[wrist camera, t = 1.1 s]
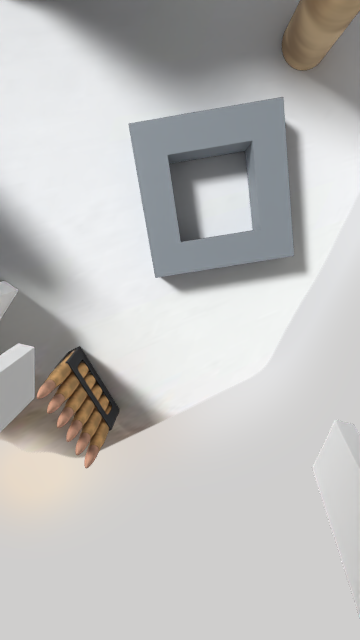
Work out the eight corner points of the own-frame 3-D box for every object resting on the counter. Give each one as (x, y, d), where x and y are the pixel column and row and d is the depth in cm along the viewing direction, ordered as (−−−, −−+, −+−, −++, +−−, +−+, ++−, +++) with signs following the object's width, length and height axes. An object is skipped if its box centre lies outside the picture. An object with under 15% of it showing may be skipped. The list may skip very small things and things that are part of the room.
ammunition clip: (120, 410, 43) (98, 471, 31) (108, 415, 43) (83, 478, 31) (79, 345, 40) (40, 385, 29) (67, 352, 41) (24, 394, 29)
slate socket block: (133, 135, 35) (128, 123, 31) (272, 111, 34) (283, 96, 31) (157, 275, 38) (155, 277, 35) (283, 255, 38) (294, 255, 34)
